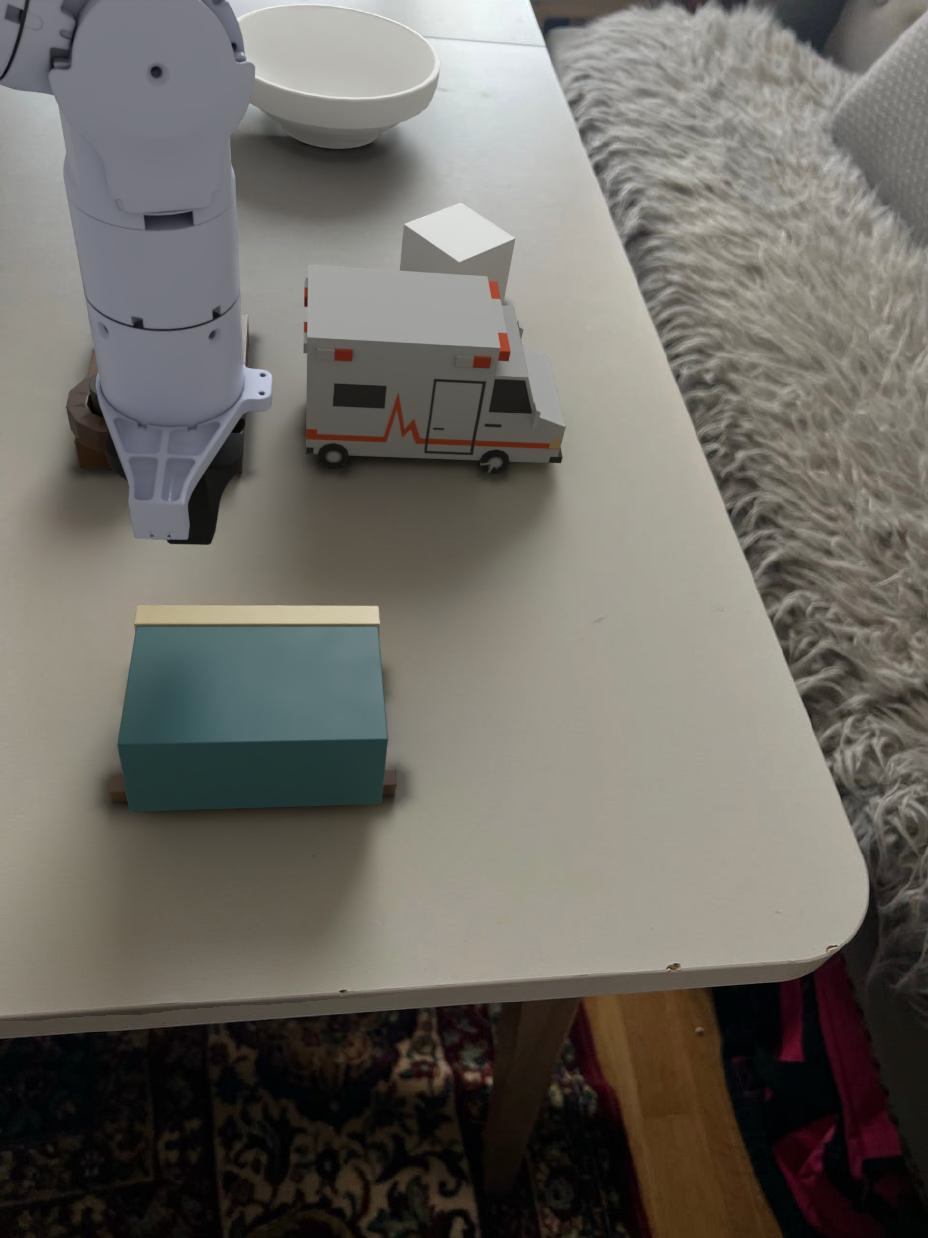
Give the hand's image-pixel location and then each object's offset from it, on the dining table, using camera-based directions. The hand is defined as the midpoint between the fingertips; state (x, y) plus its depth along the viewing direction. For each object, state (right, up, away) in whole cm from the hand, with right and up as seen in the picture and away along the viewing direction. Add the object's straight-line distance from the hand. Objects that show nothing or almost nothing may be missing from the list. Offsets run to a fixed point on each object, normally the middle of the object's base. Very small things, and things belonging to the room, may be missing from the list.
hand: (190, 534), depth 49 cm
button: (-8, +9, +13) cm, 18 cm away
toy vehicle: (+11, +9, +21) cm, 25 cm away
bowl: (+1, +42, +47) cm, 63 cm away
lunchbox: (+4, -11, -1) cm, 12 cm away
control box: (-7, +11, +20) cm, 24 cm away
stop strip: (+3, -13, +2) cm, 13 cm away
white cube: (+12, +21, +32) cm, 40 cm away
